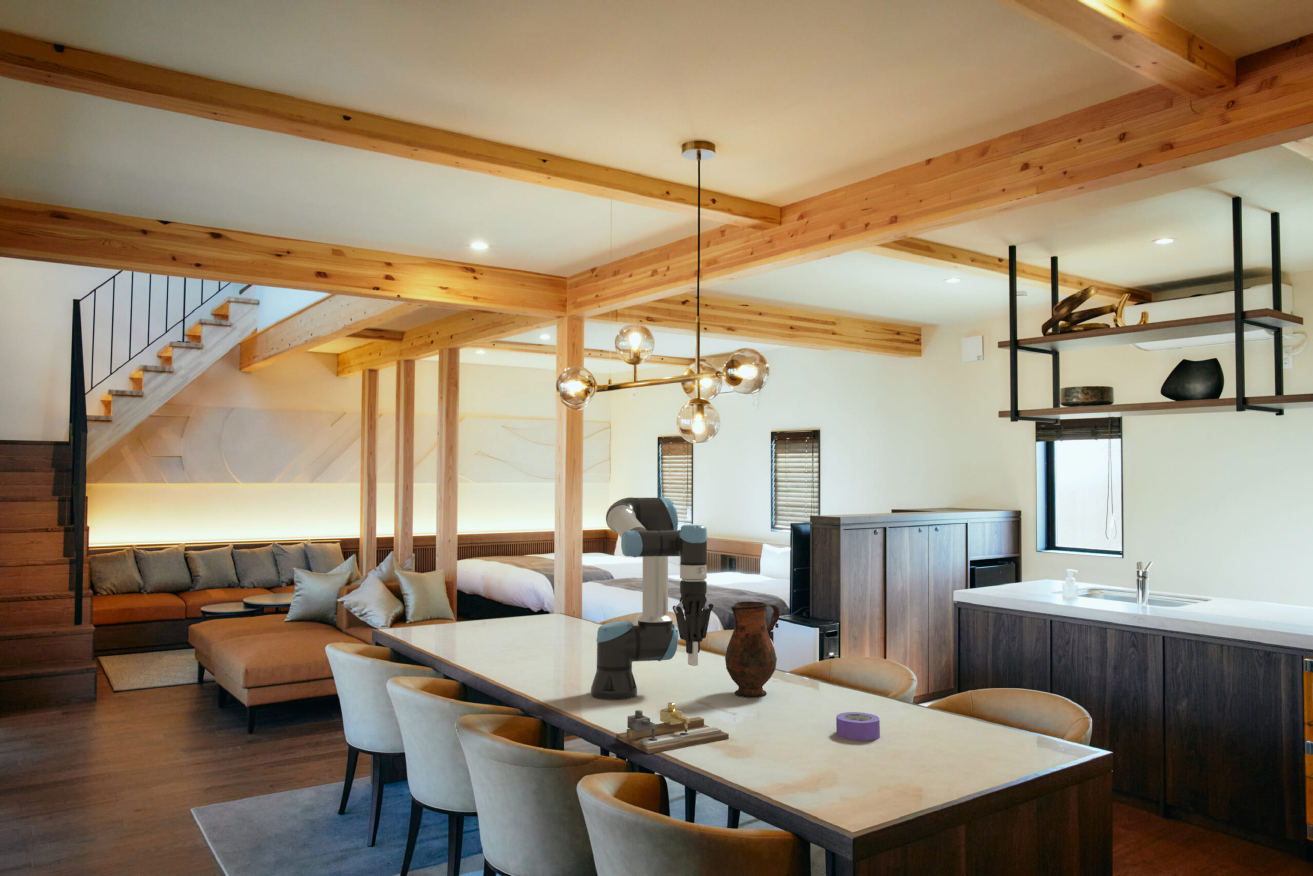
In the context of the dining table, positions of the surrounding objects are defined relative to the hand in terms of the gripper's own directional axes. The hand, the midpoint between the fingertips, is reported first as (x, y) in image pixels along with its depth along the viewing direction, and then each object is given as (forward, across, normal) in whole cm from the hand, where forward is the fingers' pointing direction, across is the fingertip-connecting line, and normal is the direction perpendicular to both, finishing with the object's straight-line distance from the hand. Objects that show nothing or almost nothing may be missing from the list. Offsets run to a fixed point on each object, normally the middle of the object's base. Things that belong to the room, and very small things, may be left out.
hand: (692, 665), depth 237 cm
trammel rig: (+18, -8, -2) cm, 20 cm away
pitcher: (+18, +45, +26) cm, 55 cm away
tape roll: (+19, +38, -26) cm, 50 cm away
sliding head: (+16, -7, -2) cm, 17 cm away
